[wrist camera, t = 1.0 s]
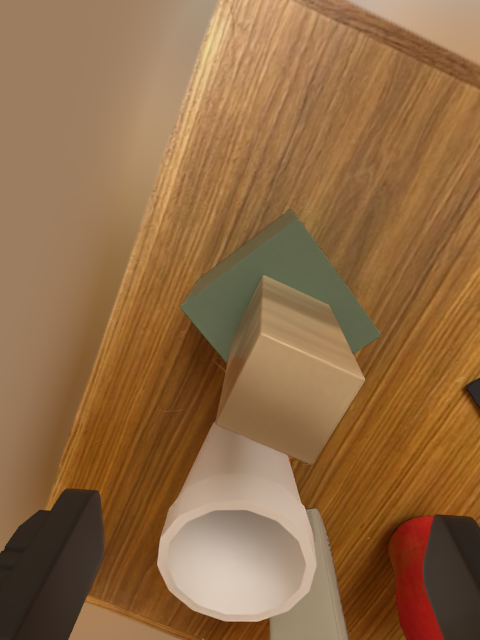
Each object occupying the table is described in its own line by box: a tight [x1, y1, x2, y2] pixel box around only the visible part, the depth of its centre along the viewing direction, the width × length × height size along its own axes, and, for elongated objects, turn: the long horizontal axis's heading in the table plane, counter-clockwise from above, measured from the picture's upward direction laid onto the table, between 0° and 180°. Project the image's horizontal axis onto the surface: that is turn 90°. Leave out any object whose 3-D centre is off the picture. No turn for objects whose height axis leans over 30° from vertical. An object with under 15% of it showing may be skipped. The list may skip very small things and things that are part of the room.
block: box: [215, 275, 365, 465], centre depth 22 cm, size 4×4×10 cm
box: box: [269, 508, 349, 640], centre depth 34 cm, size 5×4×13 cm
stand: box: [180, 209, 382, 364], centre depth 30 cm, size 9×9×7 cm
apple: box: [388, 516, 444, 640], centre depth 34 cm, size 9×8×12 cm
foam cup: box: [157, 420, 317, 622], centre depth 31 cm, size 10×9×13 cm
